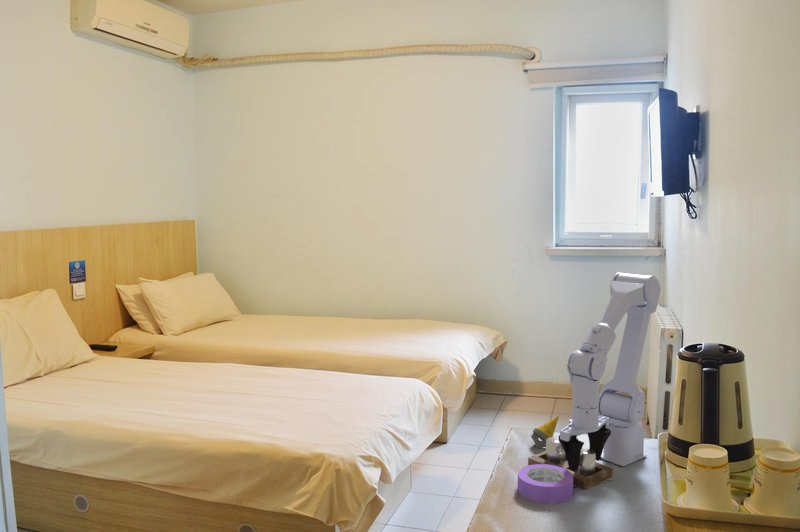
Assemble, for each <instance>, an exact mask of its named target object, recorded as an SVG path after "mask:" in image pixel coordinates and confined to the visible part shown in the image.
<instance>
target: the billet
mask: <svg viewBox="0 0 800 532" xmlns="http://www.w3.org/2000/svg"><path fill="white" fill-rule="evenodd" d="M595 462H597V460H596V452H595V451H593V450H591V449H590V448H585V447H584V448H583V447H582V449H581V453H580V460H579V467H578V469H577V470H575V472H576V473H578V474H581V475H583V476H586V477H588V476H590V475H592V474H595Z"/></svg>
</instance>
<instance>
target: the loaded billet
mask: <svg viewBox="0 0 800 532" xmlns="http://www.w3.org/2000/svg"><path fill="white" fill-rule="evenodd" d="M545 451H546V460H547V461H549V462H552V463H554V464H560V463H562V462H565V451H564V449H563V447H562V445H561V443H560V442H559V437H558V436H557V437H556V436H555V437H554V436H553V437H551V438H548V439H546V448H545Z"/></svg>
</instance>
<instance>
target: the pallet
mask: <svg viewBox="0 0 800 532" xmlns="http://www.w3.org/2000/svg"><path fill="white" fill-rule="evenodd" d="M535 464H547V465H554V466H558V467H561V468H564V469H566V470H568V471H569V472H571V474H572V475H573V487H576V488H578V489H580V490H583V491H584V490H587V489H589V488H592V487H594V486H596V485H599V484H600V483H603V482H605V481H607V480H609V479H612V478H613V477H614V468H612V467H609V466H607V465H604V464H602V463H599V462H598V461H596V462H595V474H592V475H590V476H588V477H586V476H583V475H581V474H578V473H576V472H575V470H574V469H572V468H569V465H568V461H567V457H566V454H565V462H562V463H560V464H554V463H552V462H549V461H547V460H546V450H545V451H542V452H540V453H537V454H535V455H532V456H529V457H528V459H527V466H529V465H535Z"/></svg>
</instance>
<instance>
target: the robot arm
mask: <svg viewBox="0 0 800 532" xmlns="http://www.w3.org/2000/svg"><path fill="white" fill-rule="evenodd" d="M611 278H612V279H611V281H610V283H609V294H610V299H609V300H608V303H607V305H606V308H605V310H604V312H603V315H602V317H601V318H600V319H601V320H600V322H599V323H595V324H593V325H592V326H591V328H590V329H589V331H588V333H587V334H586V337H584V339H583V342H582V344H581V345H580V347H579V349H577V350H576V351H573V352H572V353H571V354H570V355H569V357H568V360H567V361H568V362H567V364H566V370H567V372H568V374H569V382H570V383H571V384H572V389H571V391H572V394H571V398H572V399H571V401H572V402H571V403H572V405H571V409H572V410H571V418H570V419H569V420H568V424H567V426H566V427H564V428H562V429H561V430H559V435H558V438H559V442H560V443H561V445H562V447H563V449H564V451H565V454H566V457H567V461H568V465H569V468H572V469H574V470H577V469H578V467H579V460H580V453H581V449H582V448H583V446H584V444H585V442H584V441H581V440H579V438H577V437H579V436H581V435H584V434H587V437H588V443H589V449H591V450H593V451H595V452H596V462H598V461H600V460H601V459H602V460H604V461H607V462H610V463H612V464H615V465H618V466H620V467H627V466H628V465H631V464H632V463H635V462H637V461H640V460H642V459H643V458H644V459H645V458H646V457H647V453H644V452H645V451H644V450H645V449H644V448H645V447H644V445H645V444H644V443H645V430H644V429H645V428H644V426H643V423H642V422H641V421H642V420H643V418H644V416H645V411H646V408H645V407H646V406H645V403H646V394H645V393H644V391H643V390H642V388H640V386H639V385H638V384H637V379H638V375H639V370H640V366H641V361H642V356H643V351H644V348H645V347H644V346H645V343H646V337H647V333H648V330H649V324H650V319H651V315H652V314H654V313H656V312H657V308H658V305H659V300H660V294H661V285H660V281H659V279H658V277H657V276H656V275H653V274H651V275H645V274H636V273H635V274H634V273H626V272H621V271H618V272H616V273H615V274H614V275H613V276H612V277H611ZM626 313H627V315H626ZM625 315H626V316H627V317H626V321H625V324H624V330H623V335H622V339H621V343H620V344H621V345H620V349H619V354H618V358H617V361H616V362H617V363H616V367H615V371H614V376H613V378H612V379H610V380H609V381H606V382H605V383H604V384H603V385H602V387H601V390H600V379H601V378H602V377H603V376H604V374H605V371H606V365H607V362H608V357H607V356H608V354H609V352H610V349H612V346H613V345H614V343H615V341H616V339H617V334H616V332H615V330H616V328H617V327H618V326H619V324H620V322H621V321H622V320H623V319H624V317H625ZM621 393H623V394H621ZM626 394H627V395H626Z"/></svg>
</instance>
